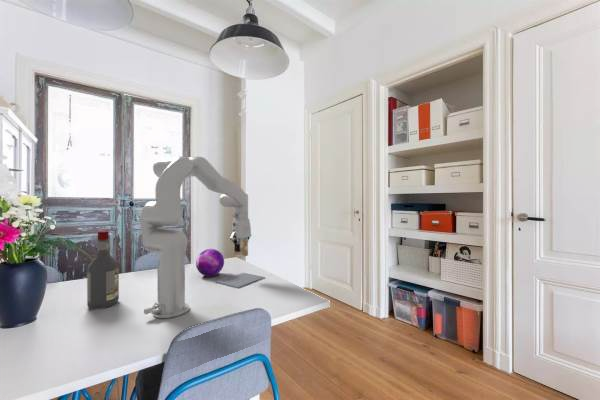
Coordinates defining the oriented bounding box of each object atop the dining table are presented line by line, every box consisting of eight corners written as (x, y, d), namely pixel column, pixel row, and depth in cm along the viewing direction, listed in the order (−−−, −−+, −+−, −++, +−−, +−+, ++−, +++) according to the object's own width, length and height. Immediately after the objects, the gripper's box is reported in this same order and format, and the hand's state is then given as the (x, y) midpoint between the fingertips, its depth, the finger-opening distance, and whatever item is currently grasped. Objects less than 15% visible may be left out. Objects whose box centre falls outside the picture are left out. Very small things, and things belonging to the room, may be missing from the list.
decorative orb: (229, 274, 154) (229, 248, 154) (208, 281, 141) (208, 252, 141) (212, 270, 162) (212, 245, 162) (190, 276, 149) (190, 249, 149)
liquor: (84, 310, 105) (84, 233, 105) (95, 301, 114) (95, 230, 113) (111, 307, 107) (111, 232, 107) (120, 299, 116) (120, 230, 116)
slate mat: (238, 288, 130) (238, 287, 130) (215, 282, 139) (215, 281, 139) (264, 278, 147) (264, 277, 147) (243, 273, 156) (243, 272, 156)
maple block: (241, 257, 140) (241, 237, 139) (234, 256, 142) (234, 237, 142) (247, 255, 144) (247, 236, 144) (241, 254, 146) (241, 236, 146)
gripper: (234, 217, 134) (234, 254, 134) (257, 215, 148) (257, 248, 148) (223, 217, 138) (223, 252, 138) (247, 215, 152) (247, 247, 152)
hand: (241, 250), depth 143 cm, fingers closed on maple block, 5 cm apart
